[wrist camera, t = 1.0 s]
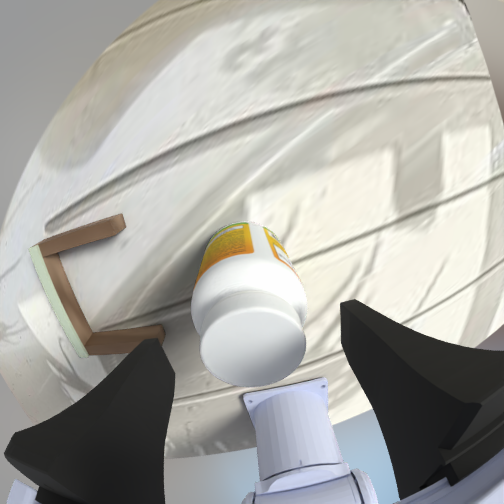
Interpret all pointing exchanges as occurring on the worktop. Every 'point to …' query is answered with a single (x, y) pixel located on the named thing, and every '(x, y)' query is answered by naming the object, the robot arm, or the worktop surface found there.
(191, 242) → the worktop surface
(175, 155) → the worktop surface
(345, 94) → the worktop surface
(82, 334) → the dock
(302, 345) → the supplement bottle
